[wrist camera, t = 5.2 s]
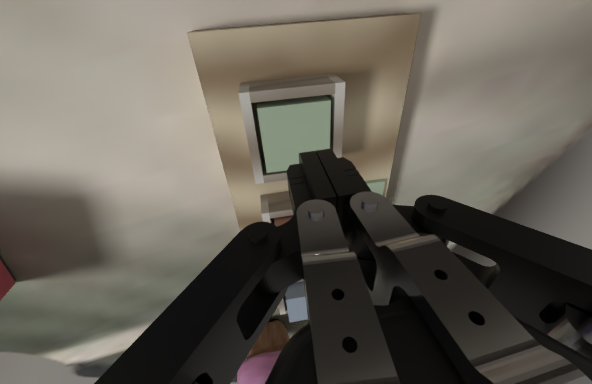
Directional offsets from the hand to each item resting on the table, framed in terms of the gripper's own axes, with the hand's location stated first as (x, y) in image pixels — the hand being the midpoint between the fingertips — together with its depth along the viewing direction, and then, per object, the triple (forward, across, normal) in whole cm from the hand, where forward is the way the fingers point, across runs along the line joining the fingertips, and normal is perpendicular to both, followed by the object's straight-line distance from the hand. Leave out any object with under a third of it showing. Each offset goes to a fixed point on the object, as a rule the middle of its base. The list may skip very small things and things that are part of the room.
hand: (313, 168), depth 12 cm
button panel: (+9, -1, +10) cm, 14 cm away
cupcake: (+9, +6, +33) cm, 34 cm away
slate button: (+6, 0, +19) cm, 19 cm away
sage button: (+7, 0, +1) cm, 7 cm away
